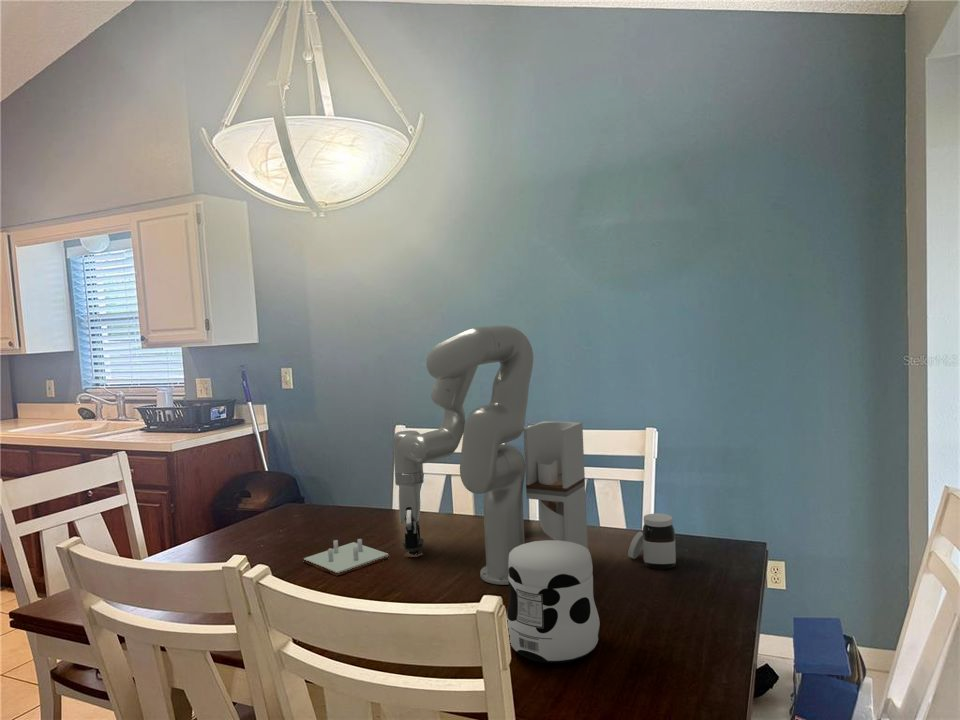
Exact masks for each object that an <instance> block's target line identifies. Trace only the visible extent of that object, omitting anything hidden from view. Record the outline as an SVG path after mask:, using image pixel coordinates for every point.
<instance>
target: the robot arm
mask: <svg viewBox="0 0 960 720" xmlns="http://www.w3.org/2000/svg"><path fill="white" fill-rule="evenodd" d="M425 362H426V363H425V364H426V369H427V371H428V373H429V375H430V376H431V377H433V378H434V379H436V380H435V383H434V385H433V387H432V390H431V393H430V399H431V400H432V402H433V403H434V404H435V405H437V406H438V407H439V408H441V409H443V410H444V413H443V418H442V420H441V422H440V426H439V427H438V429H436V430H435V429H434V430H432V431H427V432H423V433H420V432H419V431H417V430H401V431H398V432H395V433H394V434H393V437H392V448H393V450H392V451H393V464H394V467H393V468H394V482H395V483H394V484H395V485H396V486H397V487H398V511H399V512H398V513H399V514H398V516H399V523H400V524H403V523H404V531H405V533H404V540H405V545H406V549H413V548H418V538H417V533H416V522H417V526H419V528H418V535H419V538H421V530H420V529H421V527H420V524H419V523H420V521H419V519H420V516H421V489H420V485H422V484H424V483H425V481H424V468H423V467H424V464H427V463H431V462H434V461H437V460H442V459H444V458H447V457H450V456H451V455H453V454H454V453H455V452H456V450H457V448H458V447H459V445H460V442H461V440H462V443H461V452H460V458H459V459H460V460H459V475H460V480H461V482H462V485H463V486H464V488H465V489H466V490H467V491H469V492H470V493H471V494H477V495H481V494H483V504H482V505H483V507H482V508H483V524H484V525H483V527H484V528H483V529H484V546H485V547H484V548H485V563H486V564H485V566H483V567H481V569H480V573H479V574H480V579H482V580H483V581H484V582H486V583H488V584H492V585H501V586H502V585H503V586H504V585H506V586H509V580H508V576H509V565H508V563H509V553H510V552H511V551H512V550H513V549H514V548H515V547H517V546H520V545H522V544H526V543H525V542H526V541H525V526H524V524H525V523H524V496H523V495H524V494H523V493H524V481H525V476H526V474H525V457H524V456H523V454H522V451H520V450H519V449H518V448H517V447H516V446H514V445H511V444H507V443H510V442H513V441H514V440H516V439H518V438H520V437H521V436H522V434H523V433H524V432H523V430H524V428H525V423H526V417H527V409H528V399H529V389H530V385H531V384H530V383H531V377H532V372H533V366H534V351H533V347H532V344H531V343H530V341H529V339H528V337H527V336H526V335H525V334H524V333H523V332H522V331H521V330H520V329H518V328H515V327H513V326H508V325H491V326H478V327H472V328H468V329H466V330H464V331H462V332H459V333H457V334H456V335H453V336H452V337H450V338H447V339H445V340H443V341H441V342H440V343H437V344H436V345H434V346H433V347H432V348H431V349H430V350H429V352H428V354H427V357H426V361H425ZM493 363H499V364H500V365H499V368H498V371H497V372H496V374H495V376H494V378H493V383H492V388H491V389H492V390H491V396H490V402H489V404H486V405H485V404H484V405H482V406H479V407H476V408H475V409H474V410H472V411H471V412H470V413H469V415H468V416H467V418H466V413H465V409H464V406H463V405H464V403H465V401H466V397H467V396H468V392H469V390H470V387H471V385H472V382H473V380H474V377H475V374H476V372H477V369H478V368H479V366H480V365H487V364H493ZM412 519H414V521H412ZM412 524H414V528H413V525H412Z"/></svg>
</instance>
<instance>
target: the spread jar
mask: <svg viewBox="0 0 960 720" xmlns="http://www.w3.org/2000/svg"><path fill="white" fill-rule="evenodd" d="M641 552H642V555H643V556H642V557H643V563H644V565H645V566H646V567H647V568H651V569H654V570H668V569H671V568H674V567H675V566H676V564H677V563H676V562H677V556H676V553H677V551H676V531H675V528H674V525H673V516H671V515H669V514H665V513H649V514H645V515H644V516H643V526H642V531H638V532H637V533H636V534H634V537H633V538H632V540H631V542H630V544H629V547H628V552H627V555H628V557H629V558H631V559H633V560H635V559H637V558H638V557H639V556H640V554H641Z"/></svg>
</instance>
